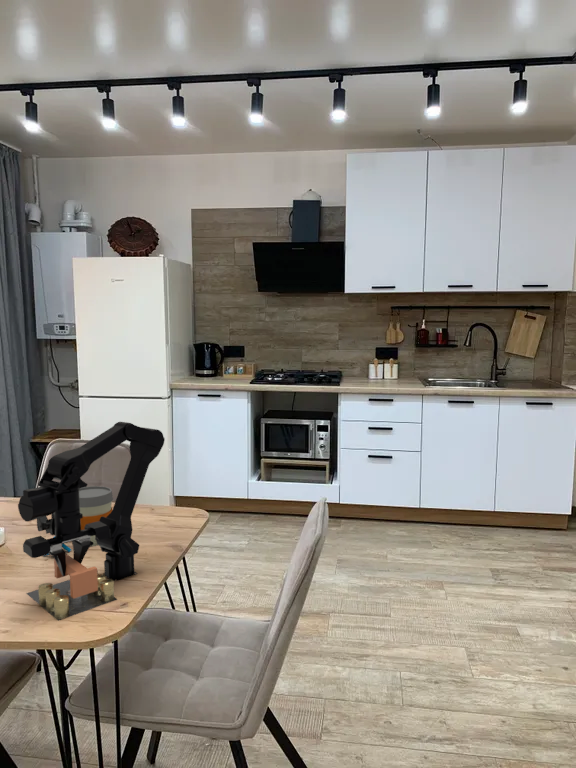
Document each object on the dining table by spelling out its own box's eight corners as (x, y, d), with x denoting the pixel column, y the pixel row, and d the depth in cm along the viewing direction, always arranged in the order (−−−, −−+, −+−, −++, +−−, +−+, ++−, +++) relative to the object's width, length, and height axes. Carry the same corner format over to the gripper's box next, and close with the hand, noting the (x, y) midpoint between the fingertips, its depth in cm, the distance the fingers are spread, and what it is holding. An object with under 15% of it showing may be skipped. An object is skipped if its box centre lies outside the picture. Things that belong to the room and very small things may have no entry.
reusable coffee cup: (78, 552, 166) (76, 500, 164) (63, 539, 175) (61, 491, 174) (121, 542, 174) (119, 492, 172) (104, 530, 183) (102, 483, 182)
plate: (82, 577, 149) (82, 560, 149) (117, 601, 136) (117, 582, 136) (26, 595, 140) (25, 577, 139) (58, 623, 127) (57, 602, 126)
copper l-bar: (71, 571, 144) (70, 550, 144) (97, 590, 134) (97, 568, 134) (48, 578, 140) (47, 557, 140) (73, 598, 130) (72, 576, 130)
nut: (80, 594, 139) (80, 585, 139) (89, 601, 136) (89, 591, 135) (64, 600, 136) (63, 590, 136) (73, 606, 133) (72, 597, 133)
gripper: (89, 493, 149) (91, 553, 150) (12, 510, 136) (15, 575, 137) (110, 503, 141) (112, 565, 142) (31, 522, 128) (34, 590, 129)
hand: (69, 573), depth 138 cm, fingers closed on copper l-bar, 3 cm apart
